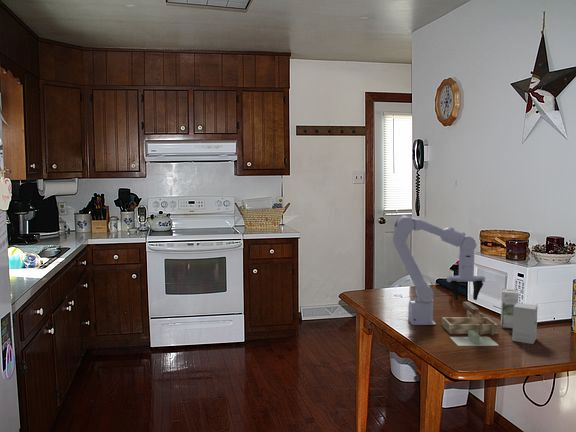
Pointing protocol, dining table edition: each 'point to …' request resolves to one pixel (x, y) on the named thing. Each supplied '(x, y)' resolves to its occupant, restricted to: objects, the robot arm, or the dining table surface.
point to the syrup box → (508, 307)
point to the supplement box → (524, 323)
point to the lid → (474, 340)
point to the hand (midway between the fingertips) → (465, 299)
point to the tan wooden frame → (469, 325)
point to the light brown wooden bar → (471, 307)
